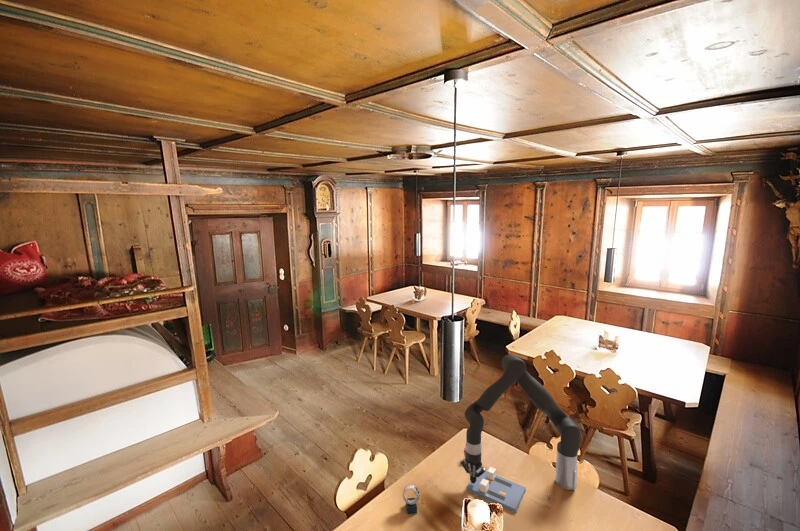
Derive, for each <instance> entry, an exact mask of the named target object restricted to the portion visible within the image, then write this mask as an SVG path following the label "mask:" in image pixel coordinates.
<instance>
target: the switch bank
mask: <svg viewBox="0 0 800 531" xmlns="http://www.w3.org/2000/svg"><path fill="white" fill-rule="evenodd" d="M480 469H481V468H479V469H478V470H477V473H478V472H479V471H480ZM487 472H488V470H486V471H485V472H484V473H483V474H482V475H481V476H479V477H477V481H476V482H475V483H474V484H473V483H471V481H470V480H469V482H468V484H467V485H466V487H465V490H466V492H469V493H471V494H473V495H475V496H477V497H480V498H482V499H483V500H485V501H488V502H491V503H492V502H493V503H492V504H494V503H499V504H501V505H502V506H503V507H502V509H506V510H508V511H510V512H512V513H514V514H517V511H518V509H519V507H520V504H521V503H522V500H523V498H524V496H525V494H526V490H527V488H526V486H523V485H521V484H519V483H516V482H514V481H511V480H509V479H507V478H504V477H502V476H499V475H497V474H496V477H495V478H494V480H490V479H488V478H487ZM482 479H486V480H488V481H489V489H488V490H487V492H486V493H484V492H482V491H480V482H481V481H482Z"/></svg>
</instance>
